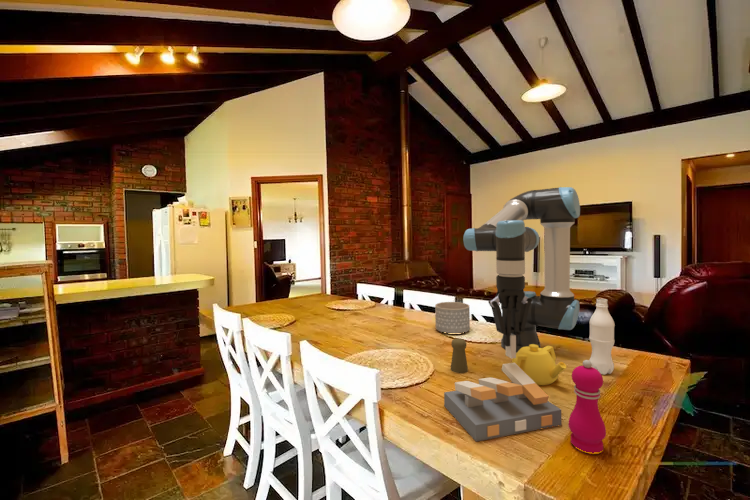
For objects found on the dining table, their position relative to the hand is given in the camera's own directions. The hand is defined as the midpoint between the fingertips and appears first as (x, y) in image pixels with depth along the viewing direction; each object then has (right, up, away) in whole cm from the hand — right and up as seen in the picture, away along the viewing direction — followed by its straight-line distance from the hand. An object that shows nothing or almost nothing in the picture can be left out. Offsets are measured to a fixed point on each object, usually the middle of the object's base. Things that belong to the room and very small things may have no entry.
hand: (510, 356), depth 98 cm
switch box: (-6, -14, -6) cm, 16 cm away
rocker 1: (-13, -6, -9) cm, 17 cm away
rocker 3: (+2, -5, -5) cm, 8 cm away
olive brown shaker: (-9, -12, +24) cm, 28 cm away
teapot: (+15, -12, +14) cm, 24 cm away
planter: (-1, -10, +71) cm, 71 cm away
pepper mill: (+9, -14, -20) cm, 26 cm away
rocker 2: (-6, -6, -7) cm, 11 cm away
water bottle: (+39, -11, +19) cm, 45 cm away
